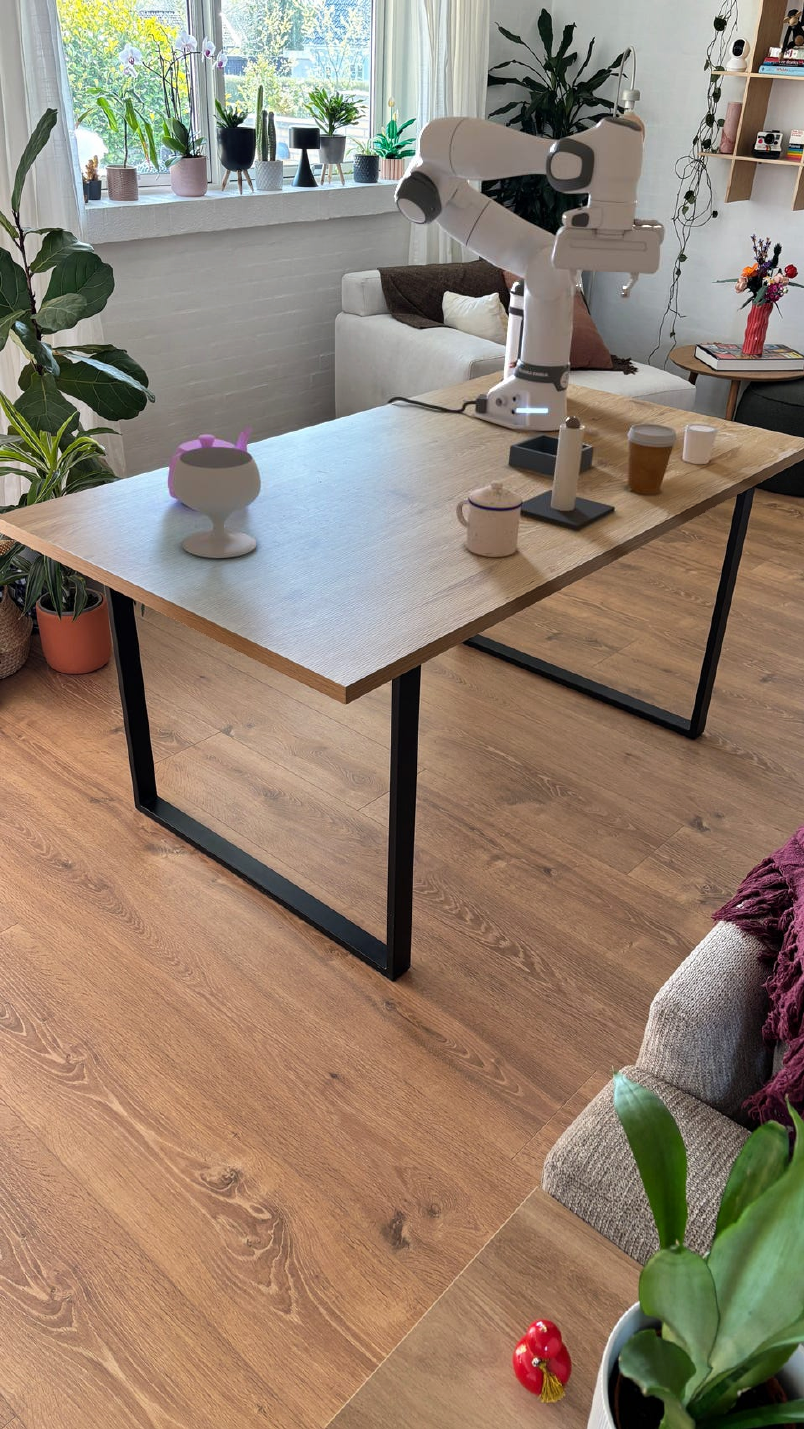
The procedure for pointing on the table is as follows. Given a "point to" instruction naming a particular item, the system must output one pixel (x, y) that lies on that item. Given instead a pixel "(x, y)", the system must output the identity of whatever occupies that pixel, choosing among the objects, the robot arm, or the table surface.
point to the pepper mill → (567, 464)
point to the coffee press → (514, 326)
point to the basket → (543, 454)
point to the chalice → (217, 496)
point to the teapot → (202, 443)
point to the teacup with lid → (491, 520)
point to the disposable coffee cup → (648, 456)
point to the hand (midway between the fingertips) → (600, 296)
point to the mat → (571, 519)
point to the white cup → (698, 443)
